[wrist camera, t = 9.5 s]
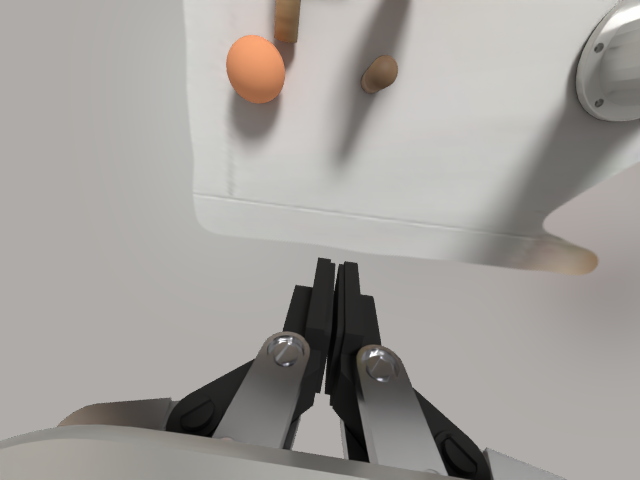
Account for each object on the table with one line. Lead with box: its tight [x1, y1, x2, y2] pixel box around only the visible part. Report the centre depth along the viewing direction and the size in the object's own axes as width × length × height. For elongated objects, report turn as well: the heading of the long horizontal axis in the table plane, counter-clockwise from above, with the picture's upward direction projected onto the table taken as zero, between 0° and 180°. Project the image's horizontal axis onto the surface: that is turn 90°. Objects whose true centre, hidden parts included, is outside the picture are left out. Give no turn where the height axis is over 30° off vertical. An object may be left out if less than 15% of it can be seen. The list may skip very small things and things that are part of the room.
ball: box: [226, 35, 285, 103], centre depth 27 cm, size 6×6×6 cm
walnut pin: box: [361, 55, 398, 94], centre depth 26 cm, size 2×2×8 cm
